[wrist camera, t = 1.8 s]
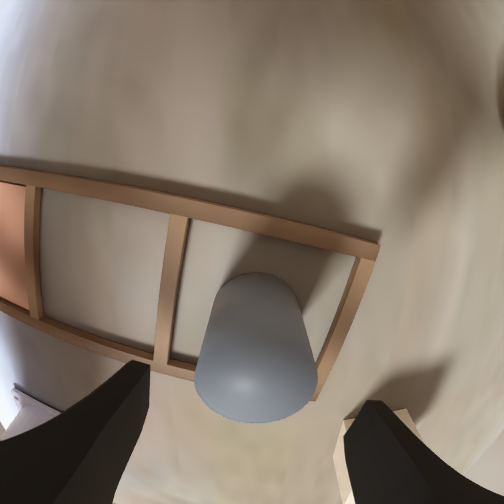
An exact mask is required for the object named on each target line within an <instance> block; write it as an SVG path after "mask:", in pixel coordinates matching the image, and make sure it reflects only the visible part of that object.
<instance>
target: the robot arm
mask: <svg viewBox="0 0 504 504" xmlns="http://www.w3.org/2000/svg"><path fill="white" fill-rule="evenodd" d="M149 390H150V365H149V364H146V363H142V362H139V361H136V360H133V359H132V360H130V361H129V362H128V363H126V364H125V365H124V366H123V367H122V368H121V369H120V370H119V371H117V372H116V373H115V374H114V375H113V376H112V377H110V378H109V379H108V380H107V381H105V382H104V383H103V384H102V385H100V386H99V387H98V388H97V389H95V390H94V391H93V392H91V393H90V394H89V395H87V396H86V397H85V398H83V399H82V400H80V401H79V402H77V403H76V404H74V405H73V406H71V407H70V408H68V409H67V410H65V411H64V412H62V413H61V412H59V411H57V410H54V409H52V408H50V407H48V406H46V405H44V404H43V403H41V402H39V401H37V400H35V399H33V398H31V397H29V396H28V395H26V394H24V393H22V392H21V391H19V390H17V389H15V388H13V389H12V391H11V392H12V395H13V397H14V400H15V402H16V405H17V407H18V410H19V413H18V415H17V416H16V417H15V419H14V420H13V421H12V423H11V424H10V425H9V427H8V428H7V430H6V431H5V432H4V434H3V435H2V437H1V438H0V504H112V502H113V498H114V495H115V492H116V489H117V486H118V484H119V481H120V479H121V476H122V474H123V472H124V470H125V467H126V465H127V463H128V461H129V458H130V456H131V454H132V452H133V450H134V447H135V445H136V443H137V441H138V438H139V436H140V434H141V431H142V428H143V425H144V422H145V418H146V415H147V412H148V409H149ZM343 440H344V453H345V461H346V466H347V470H348V475H349V479H350V483H351V488H352V492H353V496H354V501H355V504H504V496H501V495H499V494H496V493H494V492H492V491H490V490H487V489H485V488H483V487H481V486H480V485H478V484H476V483H474V482H472V481H471V480H469V479H467V478H466V477H464V476H463V475H461V474H460V473H458V472H457V471H456V470H454V469H453V468H452V467H450V466H449V465H448V464H446V463H445V462H444V461H443V460H441V459H440V458H439V457H438V456H437V455H436V454H435V453H434V452H432V451H431V450H430V449H429V448H428V447H427V446H426V445H425V444H424V443H423V442H422V441H421V440H420V439H419V438H418V437H417V436H416V435H415V434H414V433H413V432H412V431H411V430H410V429H409V428H408V427H407V426H406V425H405V424H404V423H403V422H402V421H401V420H400V419H399V417H398V416H397V415H396V414H395V413H394V412H393V411H392V410H391V409H390V408H389V407H388V406H387V405H386V404H385V403H383V402H382V401H374V400H367V401H366V403H365V404H364V406H363V407H362V409H361V411H360V412H359V414H358V415H357V417H356V418H355V420H354V421H353V423H352V424H351V426H350V427H349V429H348V430H347V432H346V433H345V434H344V436H343Z"/></svg>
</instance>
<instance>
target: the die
mask: <svg viewBox="0 0 504 504" xmlns="http://www.w3.org/2000/svg"><path fill="white" fill-rule="evenodd" d="M393 412H394V413H395V414H396V415H397V416H398V417H399V419H400V420H401V421H402V422H403V423H404V424H405V425H406V426H407V427H408V428H409V429H410V430H411V431H412V432H413V433H414V434H415V435H416V436H417V437H418V438H419V439H420V440H421V441H422V439H421V437H420V435H419V433H418V431H417V429H416V427H415V425H414V423H413V421H412V419H411V417H410V415H409V413H408V411H407V409H401V410H397V411H393ZM354 420H355V418H353V419H347V420H343V422H342V426H341V430H340V434H339V437H338V441H337V444H336V448H335V451H334V455H333V460H334V465H335V469H336V474H337V479H338V484H339V488H340V493H341V498H342V503H343V504H355V501H354V496H353V492H352V488H351V483H350V479H349V475H348V470H347V466H346V461H345V453H344V440H343V436H344V434H345V433H346V432H347V430H348V429H349V427H350V426H351V424H352V423H353V421H354ZM422 442H423V441H422Z"/></svg>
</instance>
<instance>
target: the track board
mask: <svg viewBox="0 0 504 504" xmlns="http://www.w3.org/2000/svg"><path fill="white" fill-rule="evenodd" d="M0 180H2V181H8V182H13V183H19V184H24V185H26V186H24V185H19V184H13V183H8V182H2V181H0V311H2V312H4V313H6V314H8V315H10V316H12V317H14V318H16V319H18V320H20V321H22V322H24V323H26V324H28V325H30V326H32V327H34V328H37V329H39V330H41V331H43V332H45V333H48V334H50V335H52V336H55V337H57V338H59V339H62V340H64V341H67V342H69V343H72V344H74V345H77V346H79V347H82V348H85V349H87V350H90V351H93V352H95V353H98V354H101V355H104V356H107V357H110V358H113V359H116V360H119V361H122V362H125V363H128V362H129V361H130V360H132V359H133V360H136V361H139V362H142V363H146V364H149V365H150V370H151V371H155V372H158V373H162V374H165V375H169V376H173V377H177V378H181V379H185V380H189V381H193V382H195V381H194V376H195V370H196V366H197V365H194V364H189V363H185V362H181V361H177V360H173V359H170V358H169V357H170V348H171V339H172V331H173V323H174V315H175V307H176V300H177V293H178V286H179V279H180V273H181V267H182V260H183V254H184V248H185V242H186V237H187V231H188V225H189V220H190V218H192V219H197V220H201V221H206V222H210V223H215V224H219V225H224V226H228V227H233V228H237V229H242V230H246V231H250V232H255V233H259V234H263V235H268V236H272V237H276V238H281V239H285V240H289V241H293V242H298V243H302V244H306V245H310V246H314V247H318V248H323V249H327V250H331V251H335V252H339V253H343V254H347V255H351V256H355V257H356V259H355V262H354V265H353V268H352V271H351V274H350V277H349V280H348V283H347V285H346V288H345V291H344V294H343V296H342V299H341V302H340V304H339V307H338V310H337V312H336V315H335V318H334V320H333V323H332V325H331V328H330V330H329V333H328V335H327V338H326V340H325V343H324V345H323V347H322V350H321V352H320V354H319V357H318V359H317V361H316V364H315V365H316V369H317V374H318V383H317V387H316V390H315V393H314V394H313V396H312V398H311V399H310V400H309V401H316V399H317V397H318V395H319V394H320V392H321V390H322V388H323V386H324V384H325V382H326V379H327V377H328V375H329V373H330V371H331V369H332V367H333V365H334V363H335V361H336V358H337V356H338V354H339V352H340V350H341V347H342V345H343V343H344V341H345V338H346V336H347V334H348V331H349V329H350V327H351V324H352V322H353V319H354V317H355V314H356V312H357V309H358V307H359V304H360V302H361V299H362V297H363V294H364V291H365V289H366V286H367V283H368V281H369V278H370V275H371V272H372V270H373V267H374V264H375V261H376V258H377V255H378V252H379V249H380V245H379V244H377V243H376V242H372V241H368V240H365V239H361V238H357V237H354V236H350V235H346V234H342V233H339V232H335V231H331V230H327V229H323V228H319V227H315V226H311V225H307V224H303V223H299V222H295V221H291V220H287V219H283V218H279V217H275V216H270V215H266V214H262V213H258V212H253V211H249V210H245V209H240V208H236V207H231V206H227V205H222V204H218V203H213V202H209V201H204V200H199V199H194V198H190V197H185V196H180V195H175V194H170V193H165V192H160V191H155V190H150V189H145V188H140V187H134V186H129V185H124V184H118V183H113V182H107V181H101V180H96V179H90V178H84V177H78V176H72V175H65V174H59V173H53V172H46V171H39V170H33V169H26V168H18V167H11V166H3V165H0ZM41 188H46V189H51V190H56V191H61V192H67V193H72V194H77V195H82V196H87V197H92V198H97V199H102V200H107V201H112V202H117V203H122V204H126V205H131V206H136V207H141V208H146V209H150V210H155V211H160V212H164V213H169V214H171V215H170V221H169V227H168V233H167V240H166V246H165V253H164V260H163V268H162V276H161V284H160V292H159V301H158V311H157V322H156V333H155V346H154V354H151V353H148V352H144V351H141V350H138V349H134V348H131V347H128V346H124V345H121V344H118V343H115V342H112V341H109V340H106V339H103V338H100V337H97V336H94V335H92V334H89V333H86V332H83V331H81V330H78V329H75V328H73V327H70V326H67V325H65V324H62V323H60V322H57V321H55V320H52V319H50V318H48V317H45V316H44V315H43V307H42V296H41V283H40V264H39V219H40V200H41Z"/></svg>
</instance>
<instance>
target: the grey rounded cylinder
mask: <svg viewBox="0 0 504 504" xmlns="http://www.w3.org/2000/svg"><path fill="white" fill-rule="evenodd" d="M194 381H195V387H196V390H197V392H198V395H199V396H200V398H201V399H202V401H203V402H204V403H205V404H206V405H207V406H208V407H209V408H210V409H212V410H213V411H214V412H216V413H218V414H219V415H221V416H223V417H226V418H228V419H231V420H234V421H239V422H244V423H267V422H273V421H277V420H281V419H283V418H286V417H288V416H290V415H292V414H294V413H296V412H297V411H299V410H300V409H301V408H303V407H304V406H305V405H306V404H307V403H308V402H309V400H310V399H311V398H312V396H313V394H314V393H315V390H316V387H317V383H318V374H317V369H316V365H315V361H314V358H313V354H312V350H311V347H310V343H309V339H308V336H307V332H306V329H305V325H304V322H303V318H302V314H301V311H300V307H299V304H298V301H297V298H296V296H295V294H294V292H293V291H292V289H291V288H290V287H289V286H288V285H287V284H286V283H285V282H284V281H282V280H281V279H279V278H277V277H275V276H272V275H269V274H264V273H247V274H243V275H240V276H237V277H235V278H233V279H231V280H230V281H228V282H227V283H226V284H225V285H224V286H223V287H222V288H221V289H220V290H219V292H218V293H217V295H216V297H215V300H214V304H213V307H212V311H211V315H210V318H209V322H208V325H207V329H206V333H205V336H204V340H203V344H202V348H201V351H200V355H199V359H198V362H197V366H196V370H195V376H194Z"/></svg>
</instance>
